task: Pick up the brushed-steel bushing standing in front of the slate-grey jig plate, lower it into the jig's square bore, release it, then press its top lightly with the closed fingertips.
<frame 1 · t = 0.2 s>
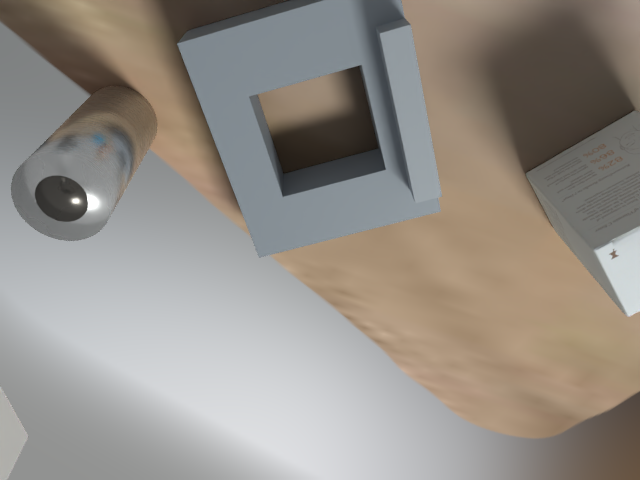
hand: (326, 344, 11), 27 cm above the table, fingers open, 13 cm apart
bushing: (120, 121, 37), on the table
small box: (591, 170, 40), on the table
jig: (317, 115, 37), on the table
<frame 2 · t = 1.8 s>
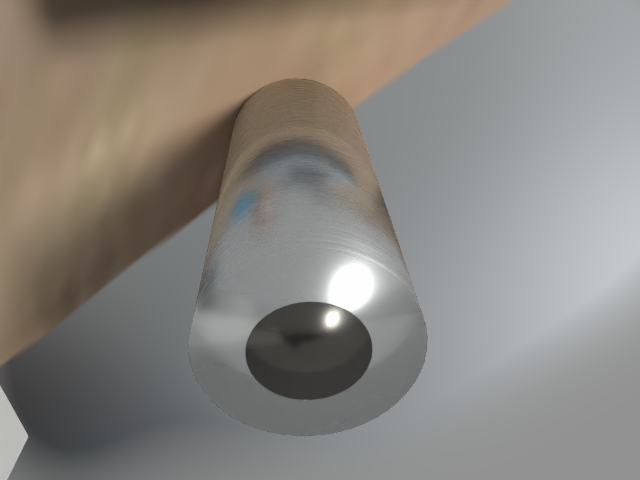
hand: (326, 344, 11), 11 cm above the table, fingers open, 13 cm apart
bushing: (297, 142, 21), on the table
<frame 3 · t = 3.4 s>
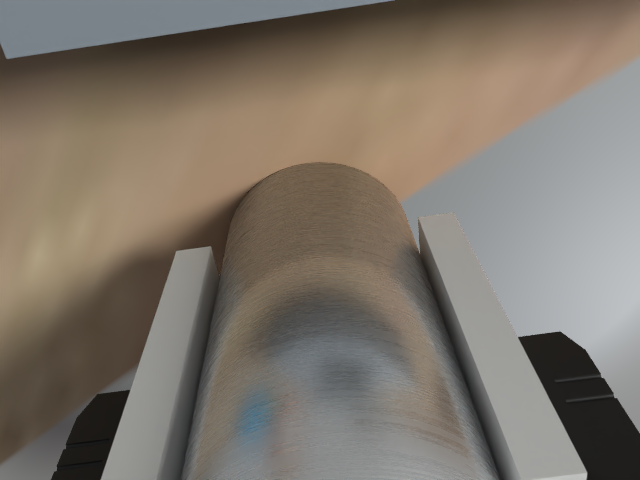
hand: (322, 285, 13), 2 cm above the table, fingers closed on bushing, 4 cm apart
bushing: (319, 247, 15), on the table, touching gripper
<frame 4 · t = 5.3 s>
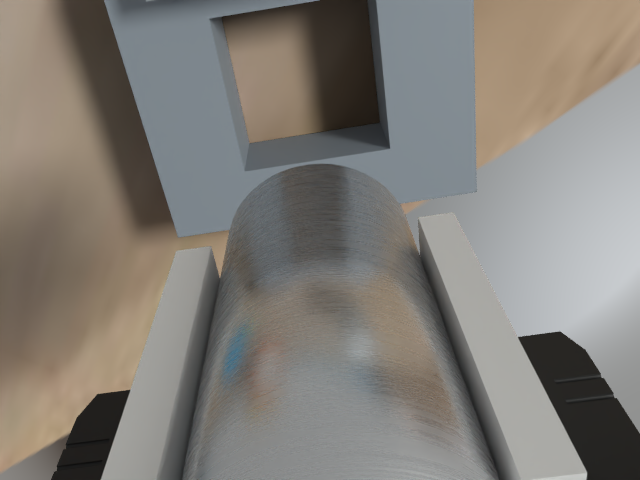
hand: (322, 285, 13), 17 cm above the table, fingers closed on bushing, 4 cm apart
bushing: (319, 248, 15), point 15 cm above the table, touching gripper
jig: (303, 67, 27), on the table
when the fingers open (4 cm above the table, at t = 7.5 s): bushing drops 1 cm, resting in jig.
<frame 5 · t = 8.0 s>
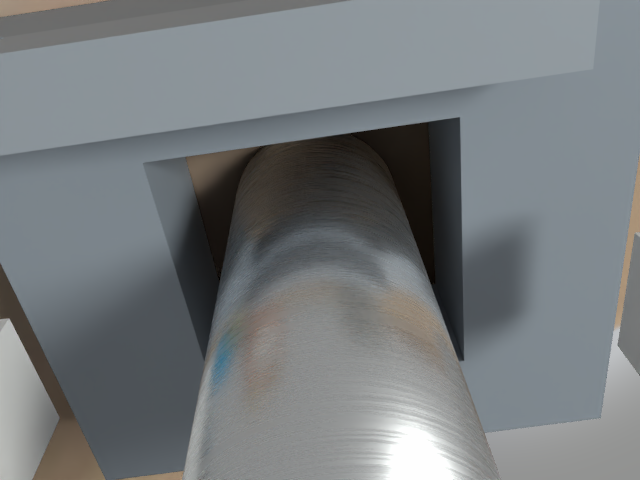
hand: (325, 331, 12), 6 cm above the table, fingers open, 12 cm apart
bushing: (316, 205, 17), resting in jig
jig: (316, 204, 17), on the table
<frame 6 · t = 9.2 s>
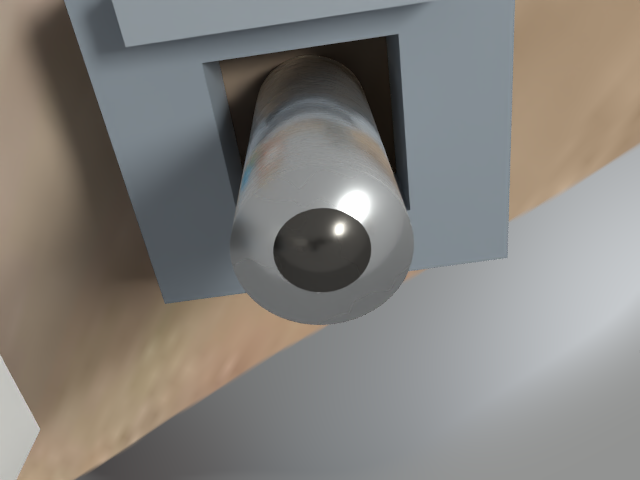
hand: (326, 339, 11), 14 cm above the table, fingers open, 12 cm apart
bushing: (311, 111, 24), resting in jig
jig: (311, 111, 24), on the table
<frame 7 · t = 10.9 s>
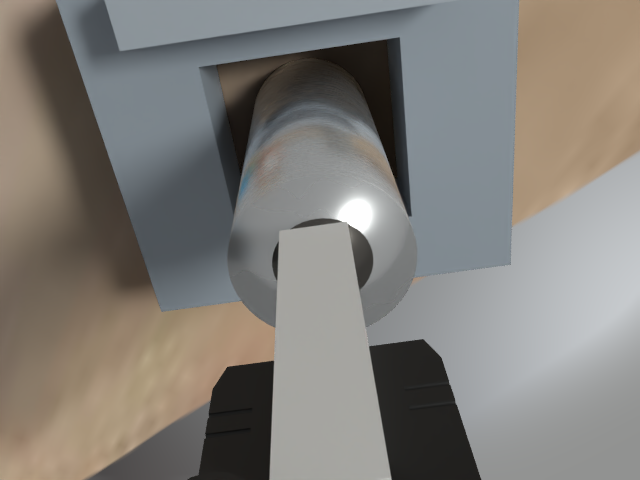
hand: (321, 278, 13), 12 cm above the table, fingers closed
bushing: (310, 115, 23), resting in jig
jig: (310, 115, 23), on the table
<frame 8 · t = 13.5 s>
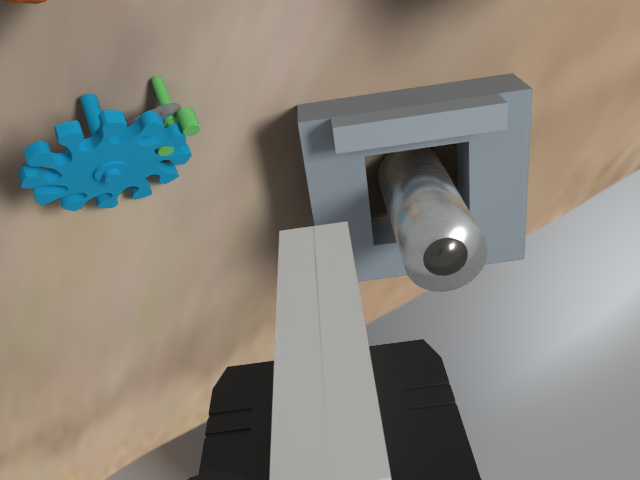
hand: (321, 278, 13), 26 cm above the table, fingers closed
bushing: (410, 174, 41), resting in jig
gear: (131, 137, 39), on the table
jig: (409, 174, 41), on the table
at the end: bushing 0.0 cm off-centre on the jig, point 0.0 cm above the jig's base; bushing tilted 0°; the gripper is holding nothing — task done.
